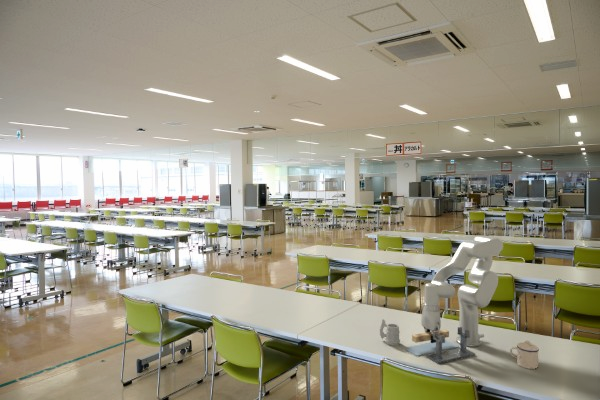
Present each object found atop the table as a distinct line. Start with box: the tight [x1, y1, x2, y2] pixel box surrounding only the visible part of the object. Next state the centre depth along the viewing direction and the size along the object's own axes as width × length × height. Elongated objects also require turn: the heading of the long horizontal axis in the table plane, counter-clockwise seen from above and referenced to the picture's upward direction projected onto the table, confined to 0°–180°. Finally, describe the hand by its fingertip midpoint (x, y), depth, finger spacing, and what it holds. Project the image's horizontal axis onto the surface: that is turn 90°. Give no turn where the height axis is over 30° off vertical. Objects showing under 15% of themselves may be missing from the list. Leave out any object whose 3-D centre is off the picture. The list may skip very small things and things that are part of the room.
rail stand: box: [426, 326, 476, 365], centre depth 193 cm, size 24×8×13 cm, turn 113°
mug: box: [379, 318, 401, 347], centre depth 211 cm, size 8×12×12 cm, turn 50°
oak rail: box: [411, 329, 450, 344], centre depth 203 cm, size 22×3×3 cm, turn 113°
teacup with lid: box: [509, 340, 540, 370], centre depth 185 cm, size 12×9×12 cm
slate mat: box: [403, 339, 460, 357], centre depth 204 cm, size 28×10×1 cm, turn 113°
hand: (430, 341), depth 203 cm, fingers closed on oak rail, 3 cm apart
